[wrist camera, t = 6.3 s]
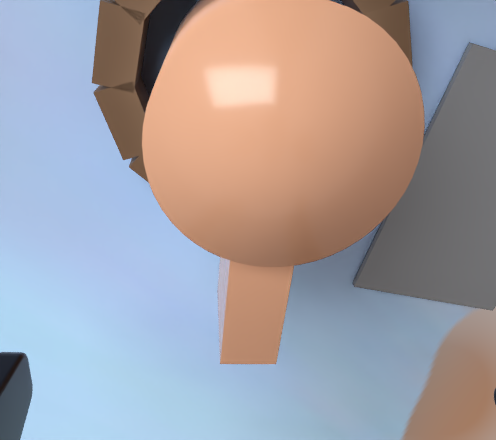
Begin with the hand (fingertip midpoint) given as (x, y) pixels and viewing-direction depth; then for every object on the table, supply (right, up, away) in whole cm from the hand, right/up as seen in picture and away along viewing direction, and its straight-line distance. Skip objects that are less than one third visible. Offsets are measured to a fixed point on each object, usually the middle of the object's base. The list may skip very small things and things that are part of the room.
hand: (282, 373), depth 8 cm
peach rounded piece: (-1, +7, +12) cm, 13 cm away
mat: (+11, +4, +14) cm, 19 cm away
